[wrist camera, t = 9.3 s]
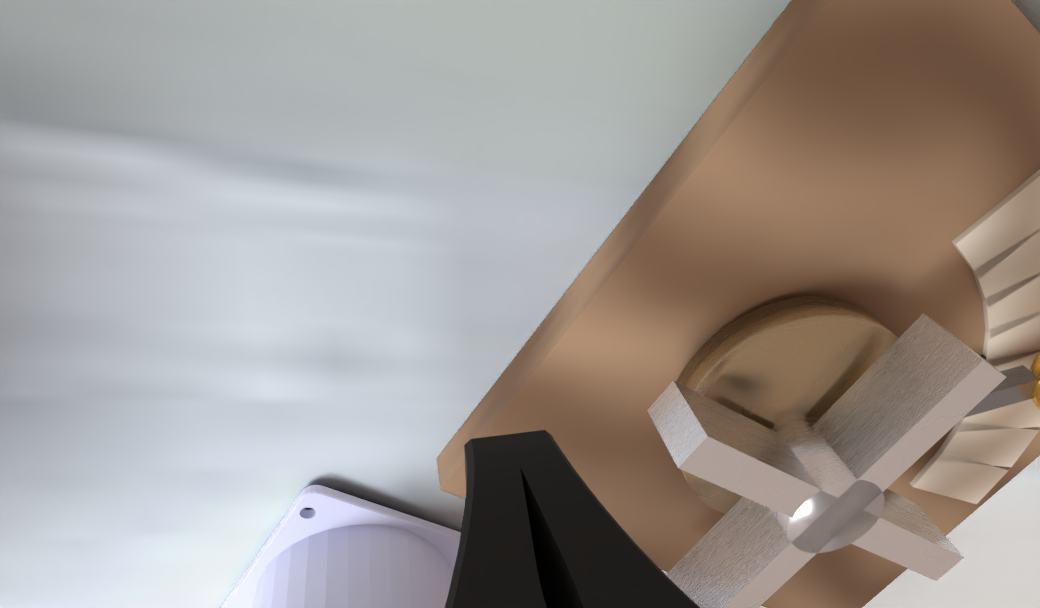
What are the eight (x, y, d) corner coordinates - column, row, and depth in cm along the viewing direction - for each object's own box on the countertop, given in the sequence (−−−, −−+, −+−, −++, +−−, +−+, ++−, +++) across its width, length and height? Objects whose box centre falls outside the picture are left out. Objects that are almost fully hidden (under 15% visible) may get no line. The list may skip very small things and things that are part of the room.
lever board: (816, 603, 34) (835, 635, 33) (436, 458, 25) (441, 494, 24) (1207, 257, 27) (1254, 278, 26) (878, -112, 18) (922, -110, 17)
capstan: (807, 594, 31) (866, 689, 27) (529, 491, 24) (558, 597, 21) (1092, 336, 26) (1208, 411, 22) (835, 125, 20) (941, 182, 16)
